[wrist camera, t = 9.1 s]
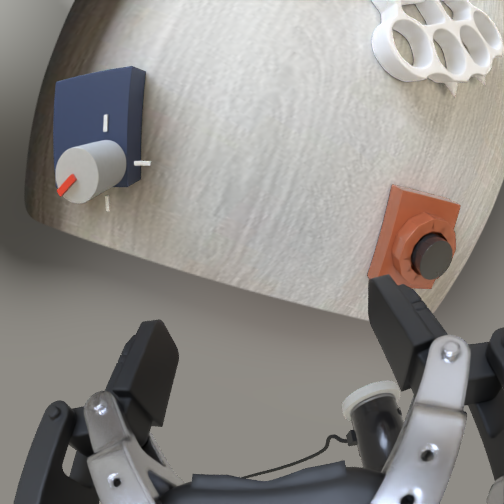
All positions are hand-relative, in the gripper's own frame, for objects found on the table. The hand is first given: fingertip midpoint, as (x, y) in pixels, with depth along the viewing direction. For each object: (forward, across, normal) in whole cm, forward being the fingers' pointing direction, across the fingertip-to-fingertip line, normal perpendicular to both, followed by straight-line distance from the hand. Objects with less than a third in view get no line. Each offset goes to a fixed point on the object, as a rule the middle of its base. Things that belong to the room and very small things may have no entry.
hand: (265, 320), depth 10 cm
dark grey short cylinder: (+12, -15, +7) cm, 20 cm away
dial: (+12, +11, -7) cm, 18 cm away
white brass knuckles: (+15, -21, -16) cm, 31 cm away
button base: (+15, -15, +7) cm, 23 cm away
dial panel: (+15, +11, -10) cm, 21 cm away
